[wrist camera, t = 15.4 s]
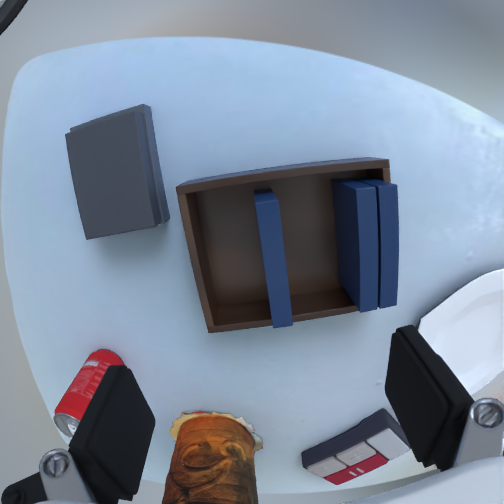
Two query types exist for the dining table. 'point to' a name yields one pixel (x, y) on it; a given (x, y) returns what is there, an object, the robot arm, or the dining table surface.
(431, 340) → the plate
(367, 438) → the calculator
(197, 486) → the vessel
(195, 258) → the book box
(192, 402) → the dining table surface
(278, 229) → the blue book
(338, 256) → the blue books
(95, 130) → the grey books
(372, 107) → the dining table surface
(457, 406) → the robot arm
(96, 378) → the beverage can
